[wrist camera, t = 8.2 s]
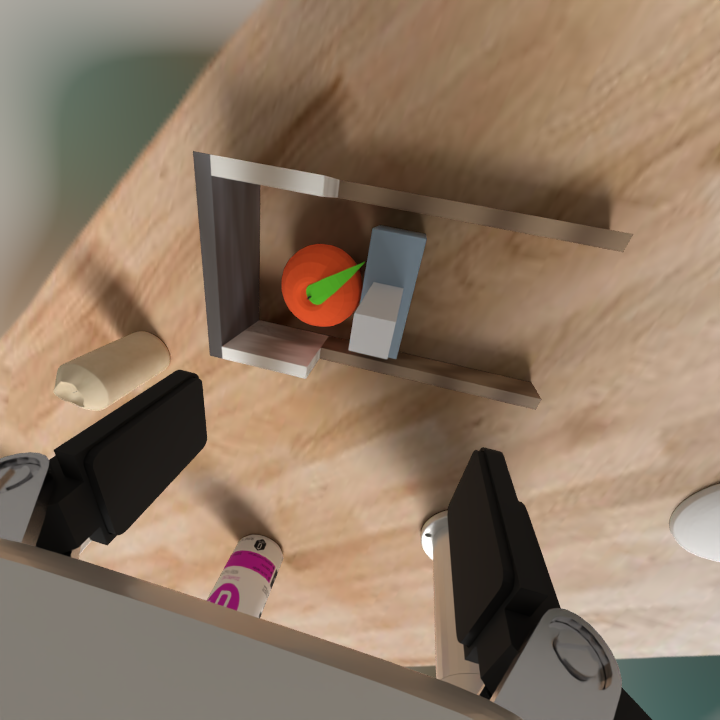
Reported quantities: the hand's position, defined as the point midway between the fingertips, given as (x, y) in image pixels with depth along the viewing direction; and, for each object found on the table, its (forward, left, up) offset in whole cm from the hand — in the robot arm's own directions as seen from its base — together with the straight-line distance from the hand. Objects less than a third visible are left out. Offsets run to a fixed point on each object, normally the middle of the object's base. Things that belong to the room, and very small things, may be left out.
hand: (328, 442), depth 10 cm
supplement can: (+12, +49, -21) cm, 55 cm away
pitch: (-1, 0, -21) cm, 21 cm away
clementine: (+5, 0, -21) cm, 22 cm away
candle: (+27, +14, -21) cm, 37 cm away
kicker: (0, 0, -21) cm, 21 cm away
